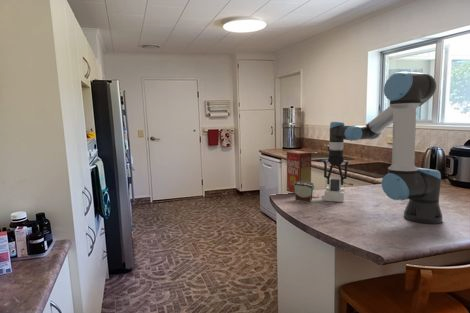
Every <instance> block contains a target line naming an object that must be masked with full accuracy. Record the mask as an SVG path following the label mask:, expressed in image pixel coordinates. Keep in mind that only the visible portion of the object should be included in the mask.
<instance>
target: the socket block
mask: <svg viewBox="0 0 470 313" xmlns="http://www.w3.org/2000/svg"><path fill="white" fill-rule="evenodd" d="M345 194H346V188H345V187H341V191H329V186H326V188H325V190H324V195H323V196H324V199H323V200H324V201H326V202H337V203H344V201H345Z"/></svg>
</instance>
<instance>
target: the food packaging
mask: <svg viewBox="0 0 470 313" xmlns="http://www.w3.org/2000/svg"><path fill="white" fill-rule="evenodd" d="M300 181H302V182H311V183H312V152H311V151H310V152H309V151H302V150H291V151H290V150H289V151H286V192H290V193H293V194H295V189H294V186H293V184H294V182H300Z"/></svg>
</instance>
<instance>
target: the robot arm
mask: <svg viewBox="0 0 470 313" xmlns="http://www.w3.org/2000/svg"><path fill="white" fill-rule="evenodd" d="M436 90H437V82H436V80H435V78H434V77H433V76H432V75H431V74H429V73H427V72H413V71H397V72H395V73H393V74H391V75H390V76H389V77H388V79H387V80H386V81H385V84H384V86H383V93H384V94H383V95H384V97H385V98H386V99H387V100H388V101H389V106H388V107H387V108H385V109H384V110H383V111H382V112H380V113H379V114H378V115H377V116H376V117H374V118H373V119H372V120H371V121H369V122H368V123H367V124H365V125H364V124H363V125H345V122H344V121H331V122H330V124H329V143H328V144H329V145H328V148H329V151H328V159H323V161H322V162H323V165H324V168H323V178H325V179H326V185H328V187H329V191H330V190H331V179H332V177H331V175H332V171H333V169H334V167H337V168H338V172H339V176H340V178H339V179H340V180H339V191H341V188H342V186H343V185H344V180H346V179H347V178H348V176H347V175H348V164H349V161H348V160H346V159H344V143H345V142H344V140H345V141H359V140H360V141H361V140H374V139H378V138H380V136H381V133H382V132H383V131H384V130H386V128H388V127H390V126H391V125H392V150H391V152H392V154H391V165H390V166H388V167H387V173H386V174H385V175H384V176H383V177H382V179H381V188H382V190H383V192H384V194H385V195H386V196H387V197H388V198H390V199H392V200H394V201H406V200H408V201H407V204H406V207H405V209H404V211H403V217H404V218H405V219H406V220H408V221H412V222H415V223H422V224H427V225H429V224H430V225H431V224H432V225H435V224H440V223H443V213H442V210H441V207H440V193H441V181H442V175H441V174H442V173H441V172H440V171H439V170H438V169H431V168H425V167H423V168H422V167H417V166H416V165H415V159H416V154H415V153H416V152H415V151H416V124H417V123H416V122H417V108H419V107H421V106H422V105H424V104H425V103H427V102H428V101H429V100H430V99H431V98H432V97H433V96H434V94H435V92H436ZM328 162H329V164H330V166H329V170H328ZM342 164H343V165H344V174H343V169H342ZM327 170H328V172H327Z"/></svg>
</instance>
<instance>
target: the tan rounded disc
mask: <svg viewBox="0 0 470 313" xmlns="http://www.w3.org/2000/svg"><path fill="white" fill-rule="evenodd" d="M317 198H320V195H319V194H315V193H312V199H317Z"/></svg>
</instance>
